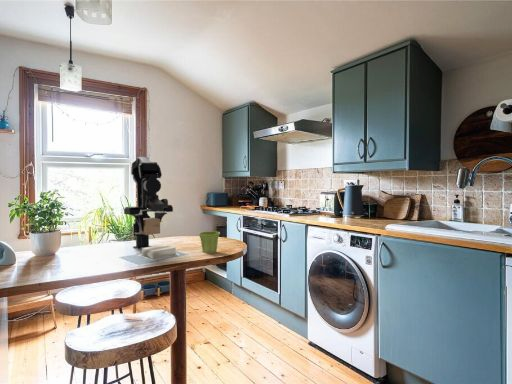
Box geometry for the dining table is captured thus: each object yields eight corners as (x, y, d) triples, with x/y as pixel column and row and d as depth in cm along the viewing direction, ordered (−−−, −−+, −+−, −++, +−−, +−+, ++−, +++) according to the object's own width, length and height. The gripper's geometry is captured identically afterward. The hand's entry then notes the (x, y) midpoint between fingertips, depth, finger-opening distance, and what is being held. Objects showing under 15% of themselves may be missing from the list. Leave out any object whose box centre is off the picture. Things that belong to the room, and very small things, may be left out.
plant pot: (206, 256, 131) (205, 235, 131) (194, 252, 138) (194, 232, 138) (224, 252, 137) (224, 233, 137) (212, 249, 144) (212, 230, 144)
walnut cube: (139, 233, 128) (139, 218, 127) (153, 231, 132) (152, 217, 132) (146, 235, 123) (146, 220, 123) (160, 233, 128) (160, 218, 127)
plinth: (141, 255, 130) (141, 248, 130) (163, 251, 137) (163, 244, 137) (153, 259, 123) (153, 251, 123) (175, 254, 131) (175, 247, 130)
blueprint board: (119, 258, 127) (118, 257, 126) (166, 250, 143) (166, 248, 143) (138, 266, 115) (138, 264, 115) (188, 255, 131) (188, 254, 131)
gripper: (135, 193, 115) (136, 235, 115) (179, 192, 128) (180, 229, 129) (123, 192, 123) (123, 232, 123) (166, 191, 136) (166, 227, 136)
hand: (149, 230), depth 128 cm, fingers closed on walnut cube, 6 cm apart
